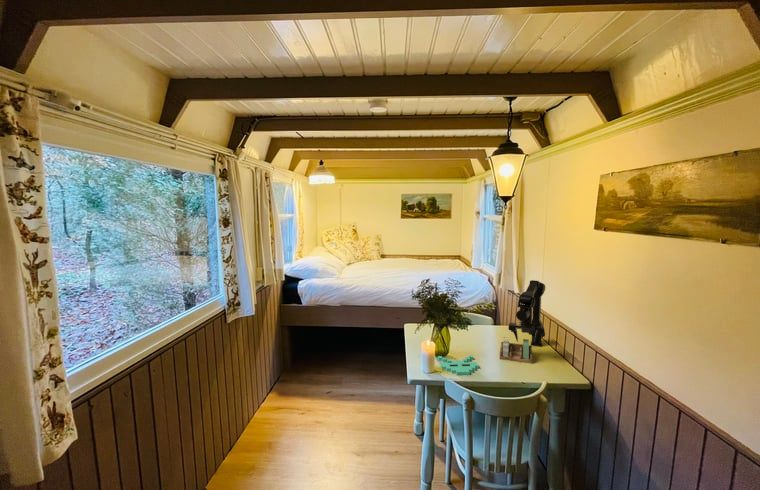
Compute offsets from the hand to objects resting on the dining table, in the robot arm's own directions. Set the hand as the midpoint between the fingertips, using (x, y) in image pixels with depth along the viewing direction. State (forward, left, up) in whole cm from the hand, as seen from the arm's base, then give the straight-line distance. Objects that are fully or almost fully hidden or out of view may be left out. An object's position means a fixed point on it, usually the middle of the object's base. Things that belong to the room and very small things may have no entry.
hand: (525, 342), depth 192 cm
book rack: (0, -5, -9) cm, 11 cm away
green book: (0, 0, -8) cm, 8 cm away
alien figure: (+24, -34, -10) cm, 43 cm away
